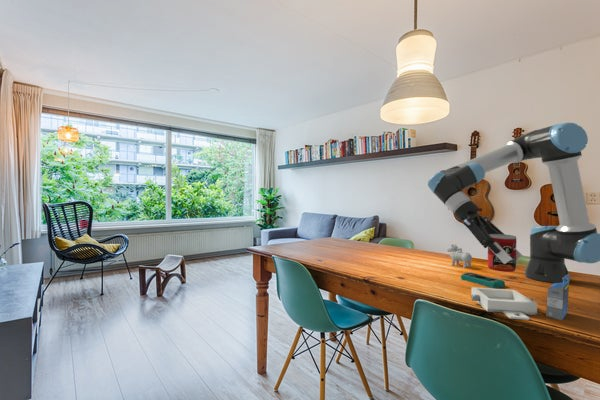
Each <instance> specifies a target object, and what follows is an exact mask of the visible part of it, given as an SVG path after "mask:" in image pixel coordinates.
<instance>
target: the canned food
mask: <svg viewBox="0 0 600 400" xmlns="http://www.w3.org/2000/svg"><path fill="white" fill-rule="evenodd" d="M489 236H490V237H491V239H492V240H493V241H494V242H496V243H497V244H498V245H499V246H500V247H501V248H502V249H503V250H504V251H505V252H506V253H507V254H508V255H509V256H510V257H511V258H512V259H511V260H510V261H508V262H507V263H506V264H504V263H503V262H502V261H501V260H500V259H499V258H498V257H497V256H496V255H495V254H494V253H493V252H492V251H491V250H490V249H489V248H488V247H487V267H488V269H490V270H493V271H498V272H504V273H505V272H506V273H513V272H515V271H516V268H517V260H516V249H517V236H515V235H513V234H505V233H504V234H489ZM494 242H493V243H494Z"/></svg>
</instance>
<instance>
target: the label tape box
mask: <svg viewBox="0 0 600 400" xmlns="http://www.w3.org/2000/svg"><path fill="white" fill-rule="evenodd" d="M569 276H570V273H569V274H568V275H566V276H565V277H563V278H562V279H563V282H562V283H552V285H551V286H549V288H547V294H546V295H547V296H546V311H545V312H546V314H545V315H546V316H545V317H548V318H551V319H553V320H554V319H555V320H559V321H563V320H564V318H565V317H566V316H567V314H568V309H569V308H568V306H569V291H570V282H569ZM566 279H567V282H566Z"/></svg>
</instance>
